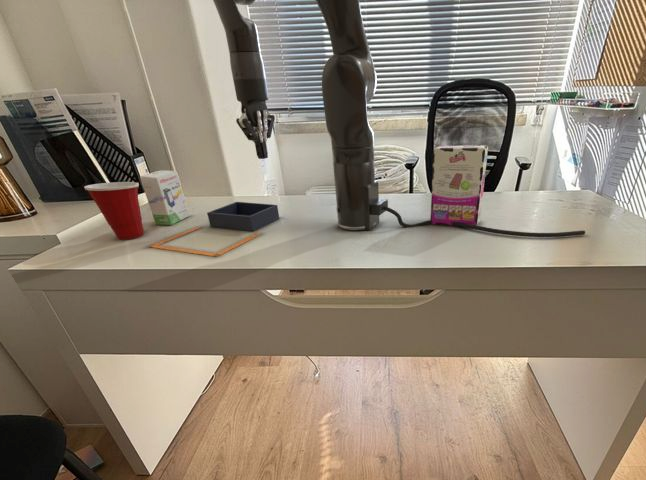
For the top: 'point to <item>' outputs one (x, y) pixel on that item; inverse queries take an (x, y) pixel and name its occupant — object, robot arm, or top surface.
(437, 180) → the candy bar box
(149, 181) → the ink box
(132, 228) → the plastic cup
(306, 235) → the top surface
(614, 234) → the top surface
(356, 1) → the robot arm
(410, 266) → the top surface
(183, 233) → the tape marks
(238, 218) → the dark blue tray
